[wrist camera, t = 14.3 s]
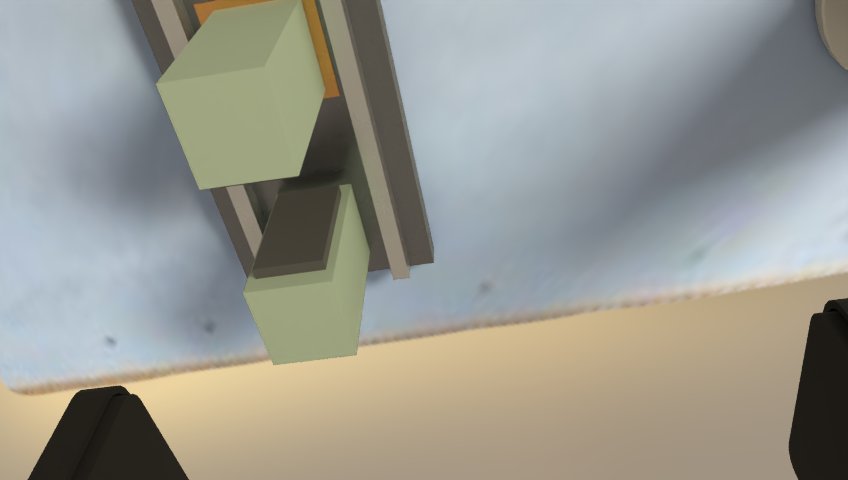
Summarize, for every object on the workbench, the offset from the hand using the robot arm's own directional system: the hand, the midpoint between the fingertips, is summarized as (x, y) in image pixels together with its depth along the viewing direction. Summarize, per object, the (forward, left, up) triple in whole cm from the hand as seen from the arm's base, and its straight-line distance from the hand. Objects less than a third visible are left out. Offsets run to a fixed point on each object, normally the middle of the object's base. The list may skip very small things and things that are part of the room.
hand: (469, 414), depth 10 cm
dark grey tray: (+10, +9, -30) cm, 33 cm away
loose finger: (+10, +4, -29) cm, 31 cm away
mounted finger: (+10, +15, -29) cm, 34 cm away
